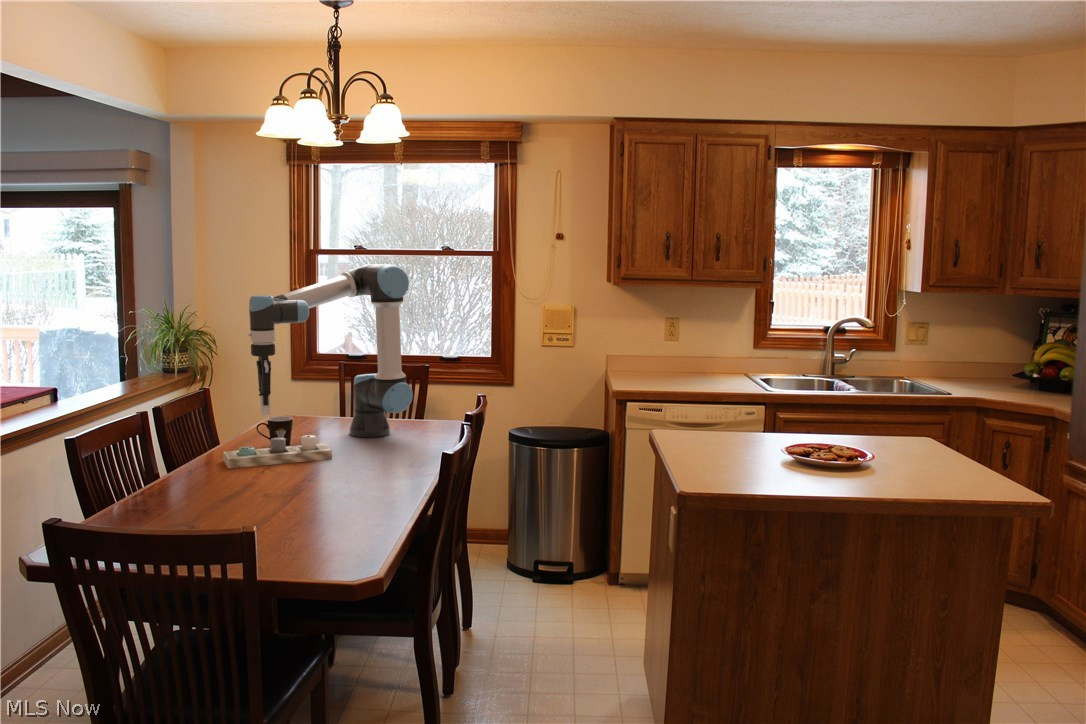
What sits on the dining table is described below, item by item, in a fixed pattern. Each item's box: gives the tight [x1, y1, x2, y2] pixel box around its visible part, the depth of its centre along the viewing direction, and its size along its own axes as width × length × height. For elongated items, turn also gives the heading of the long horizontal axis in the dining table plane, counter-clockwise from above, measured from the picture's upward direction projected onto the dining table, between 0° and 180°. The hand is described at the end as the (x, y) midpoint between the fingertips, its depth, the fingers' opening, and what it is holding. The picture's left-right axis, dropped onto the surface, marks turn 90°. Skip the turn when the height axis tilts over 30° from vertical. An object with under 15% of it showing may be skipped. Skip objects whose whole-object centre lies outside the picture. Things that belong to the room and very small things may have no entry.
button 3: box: [238, 446, 255, 456], centre depth 276 cm, size 5×5×5 cm
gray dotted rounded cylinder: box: [269, 438, 286, 454], centre depth 281 cm, size 5×5×5 cm
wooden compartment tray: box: [222, 443, 333, 469], centre depth 281 cm, size 33×11×3 cm, turn 117°
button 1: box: [300, 434, 317, 451], centre depth 285 cm, size 5×5×5 cm
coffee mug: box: [256, 415, 294, 446], centre depth 300 cm, size 12×9×10 cm
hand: (265, 414), depth 278 cm, fingers closed
